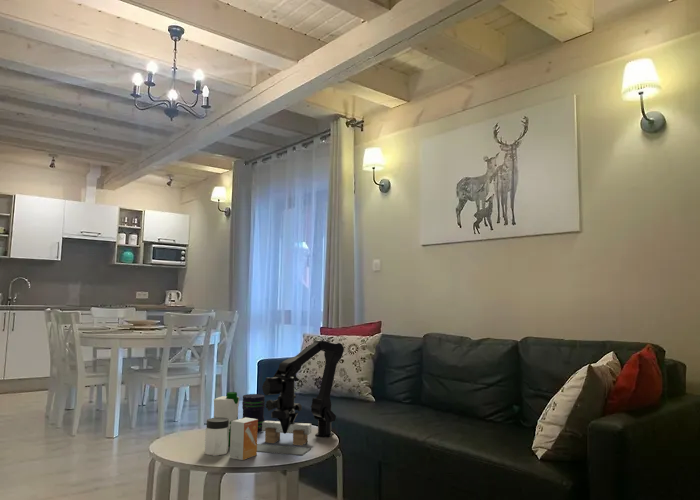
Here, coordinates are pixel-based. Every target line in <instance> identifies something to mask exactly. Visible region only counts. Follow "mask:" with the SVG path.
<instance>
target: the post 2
mask: <svg viewBox="0 0 700 500" xmlns="http://www.w3.org/2000/svg"><path fill="white" fill-rule="evenodd" d="M308 437H309V435H306V434H303V431H301V430H293V433H292V445H293V446H304V445H305V444H307V443H308V442H309V441H308ZM306 442H307V443H306ZM303 444H304V445H303Z"/></svg>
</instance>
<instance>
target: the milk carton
mask: <svg viewBox="0 0 700 500" xmlns="http://www.w3.org/2000/svg"><path fill="white" fill-rule="evenodd" d="M239 404H240V396H238V393H237V392H235V391H228V392H226V396H225V395H223V396H218V397H217V398H214V399H213V409H214V410H213V418H219V417H221V418H228V419H229V441H228V448H230V437H231V421H234V420H237V419H239Z"/></svg>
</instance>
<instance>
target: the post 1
mask: <svg viewBox="0 0 700 500" xmlns="http://www.w3.org/2000/svg"><path fill="white" fill-rule="evenodd" d="M264 432H265V433H264V443H265V444H267V443H268V444H276V443H277V442H279V441H280V440H281V433H279V432H275V429H274V428H265V431H264Z"/></svg>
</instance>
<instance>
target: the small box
mask: <svg viewBox="0 0 700 500" xmlns="http://www.w3.org/2000/svg"><path fill="white" fill-rule="evenodd" d="M257 431H258V419H253V418H246V417H245V418H243V417H242V418H238V419H237V420H234V421H231V437H230V447H229V459H234V460H240V461H245V460H246V459H249V458H253V457H255V456H257V454H258V452H257V444H258V432H257Z"/></svg>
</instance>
